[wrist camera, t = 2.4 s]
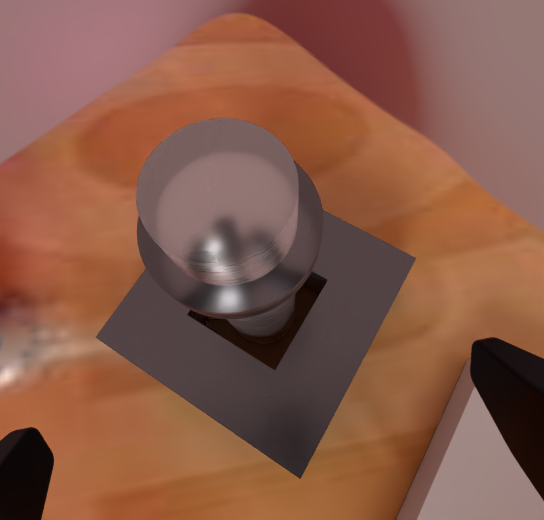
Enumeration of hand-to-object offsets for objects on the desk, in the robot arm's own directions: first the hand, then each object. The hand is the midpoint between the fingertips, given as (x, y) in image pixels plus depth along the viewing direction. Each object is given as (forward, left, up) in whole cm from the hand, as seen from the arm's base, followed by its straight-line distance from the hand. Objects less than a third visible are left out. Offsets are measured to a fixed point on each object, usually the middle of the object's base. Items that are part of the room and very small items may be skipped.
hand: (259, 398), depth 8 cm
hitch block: (+3, +3, -11) cm, 11 cm away
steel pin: (+3, +3, -11) cm, 11 cm away
